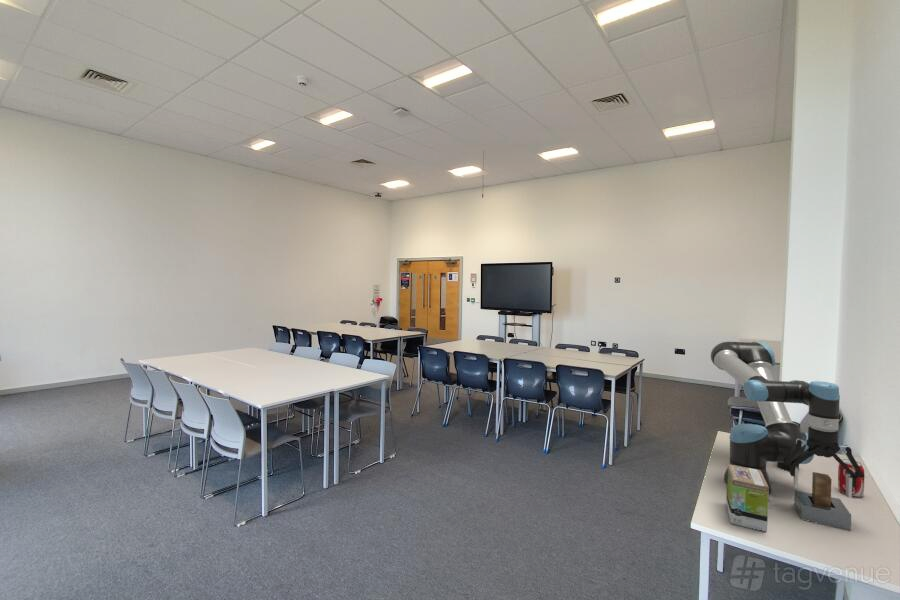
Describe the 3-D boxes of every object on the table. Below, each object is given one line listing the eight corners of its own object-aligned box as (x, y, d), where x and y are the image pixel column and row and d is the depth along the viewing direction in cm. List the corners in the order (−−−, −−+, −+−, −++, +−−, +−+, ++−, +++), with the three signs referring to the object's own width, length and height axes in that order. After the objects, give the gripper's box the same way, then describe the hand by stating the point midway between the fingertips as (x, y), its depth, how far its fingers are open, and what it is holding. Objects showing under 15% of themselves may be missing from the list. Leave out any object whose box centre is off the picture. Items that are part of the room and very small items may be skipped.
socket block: (801, 519, 136) (802, 504, 136) (794, 503, 146) (794, 490, 146) (850, 530, 130) (851, 515, 130) (839, 513, 140) (839, 498, 140)
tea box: (768, 533, 128) (769, 486, 128) (730, 524, 133) (731, 479, 133) (760, 511, 142) (761, 468, 141) (725, 503, 146) (726, 462, 146)
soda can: (869, 499, 150) (870, 466, 150) (846, 497, 152) (847, 465, 151) (854, 490, 157) (855, 459, 157) (832, 488, 158) (833, 457, 158)
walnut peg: (814, 514, 138) (815, 476, 137) (811, 509, 141) (812, 471, 141) (830, 518, 135) (831, 479, 135) (827, 512, 139) (828, 474, 139)
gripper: (778, 425, 141) (776, 486, 141) (879, 438, 128) (877, 505, 128) (774, 419, 147) (773, 477, 148) (870, 431, 135) (868, 495, 135)
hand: (821, 490), depth 138 cm, fingers open, 13 cm apart
